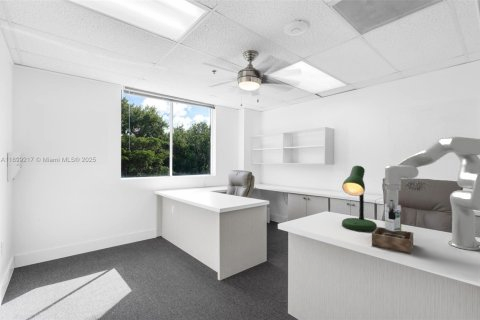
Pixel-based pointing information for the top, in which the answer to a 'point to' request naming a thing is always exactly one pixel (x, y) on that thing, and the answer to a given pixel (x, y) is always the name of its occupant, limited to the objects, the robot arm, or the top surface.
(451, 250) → the top surface
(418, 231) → the top surface
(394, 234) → the walled box
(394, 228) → the syrup box
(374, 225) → the desk lamp
